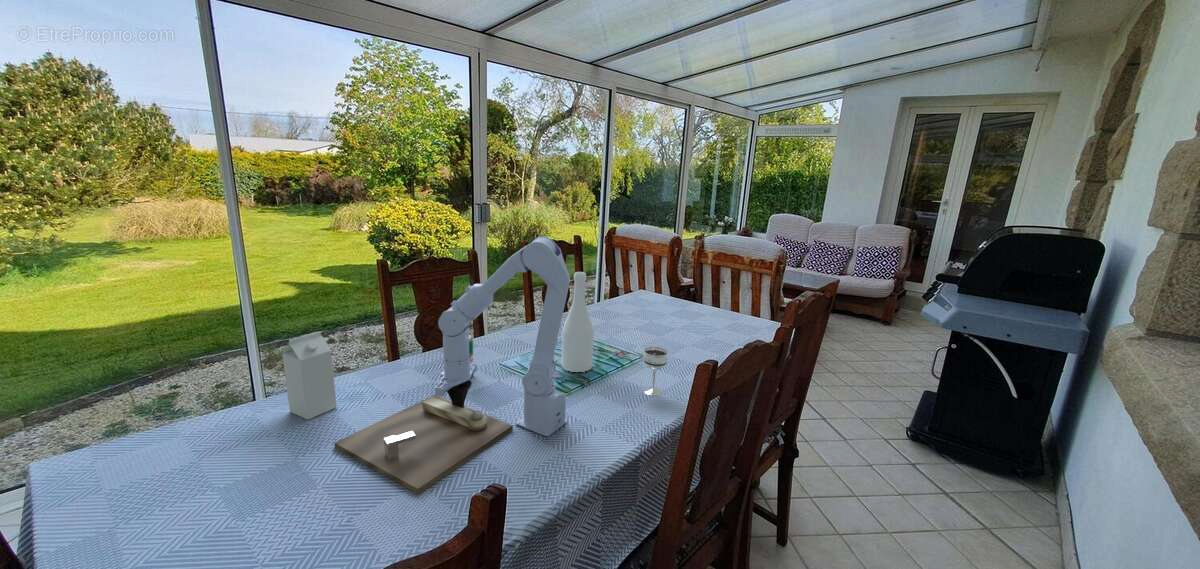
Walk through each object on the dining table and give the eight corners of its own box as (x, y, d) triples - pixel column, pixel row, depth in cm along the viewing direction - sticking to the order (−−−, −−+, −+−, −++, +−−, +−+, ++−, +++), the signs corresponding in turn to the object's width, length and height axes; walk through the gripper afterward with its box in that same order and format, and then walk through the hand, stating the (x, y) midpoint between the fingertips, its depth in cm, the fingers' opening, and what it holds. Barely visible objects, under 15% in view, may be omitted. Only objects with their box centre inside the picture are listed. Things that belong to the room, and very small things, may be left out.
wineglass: (664, 387, 130) (667, 347, 127) (665, 398, 124) (669, 357, 121) (640, 385, 131) (643, 345, 128) (640, 396, 124) (643, 355, 122)
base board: (512, 430, 105) (512, 425, 105) (418, 494, 83) (417, 488, 83) (435, 399, 118) (434, 394, 117) (334, 447, 96) (334, 442, 95)
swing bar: (490, 424, 104) (490, 411, 103) (478, 432, 101) (478, 419, 100) (434, 403, 112) (433, 391, 112) (421, 410, 109) (420, 398, 108)
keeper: (412, 445, 96) (411, 429, 95) (416, 451, 94) (415, 434, 93) (384, 454, 92) (383, 438, 91) (388, 460, 90) (387, 443, 89)
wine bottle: (557, 363, 143) (559, 270, 136) (584, 359, 147) (588, 268, 140) (567, 376, 134) (570, 277, 127) (597, 371, 138) (601, 275, 131)
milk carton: (289, 412, 108) (280, 336, 104) (319, 400, 114) (311, 328, 110) (307, 420, 105) (298, 343, 101) (337, 407, 111) (329, 334, 107)
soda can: (462, 381, 128) (461, 341, 125) (451, 376, 131) (450, 336, 128) (477, 375, 132) (476, 336, 129) (466, 370, 135) (465, 332, 132)
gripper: (458, 344, 113) (460, 394, 117) (421, 366, 100) (424, 422, 103) (484, 348, 112) (485, 398, 115) (450, 371, 98) (452, 428, 101)
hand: (458, 410), depth 109 cm, fingers closed, pressing on swing bar
